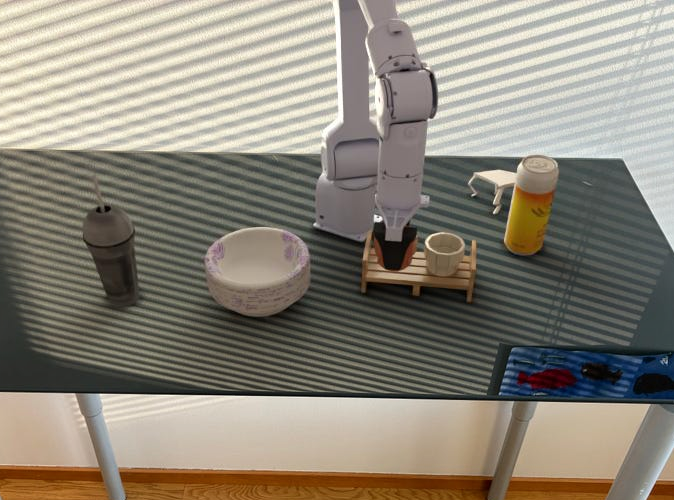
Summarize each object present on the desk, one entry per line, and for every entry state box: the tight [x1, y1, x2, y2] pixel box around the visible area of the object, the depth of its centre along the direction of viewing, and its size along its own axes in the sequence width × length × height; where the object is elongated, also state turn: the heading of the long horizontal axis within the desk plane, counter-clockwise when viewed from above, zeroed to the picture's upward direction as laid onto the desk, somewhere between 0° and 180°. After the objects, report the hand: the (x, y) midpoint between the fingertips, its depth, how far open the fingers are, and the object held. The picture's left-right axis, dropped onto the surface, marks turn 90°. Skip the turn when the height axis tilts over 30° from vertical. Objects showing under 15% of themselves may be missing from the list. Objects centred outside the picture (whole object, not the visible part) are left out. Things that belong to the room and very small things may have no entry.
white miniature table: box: [467, 169, 517, 215], centre depth 132 cm, size 12×8×5 cm
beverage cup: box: [82, 174, 140, 308], centre depth 108 cm, size 7×7×20 cm
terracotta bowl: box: [373, 225, 419, 271], centre depth 105 cm, size 6×6×4 cm
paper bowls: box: [203, 226, 311, 318], centre depth 112 cm, size 15×15×8 cm
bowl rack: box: [360, 232, 477, 303], centre depth 115 cm, size 8×16×6 cm, turn 81°
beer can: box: [503, 154, 560, 256], centre depth 119 cm, size 6×6×15 cm
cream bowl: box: [423, 231, 466, 277], centre depth 113 cm, size 6×6×4 cm
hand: (394, 255), depth 105 cm, fingers closed on terracotta bowl, 5 cm apart
